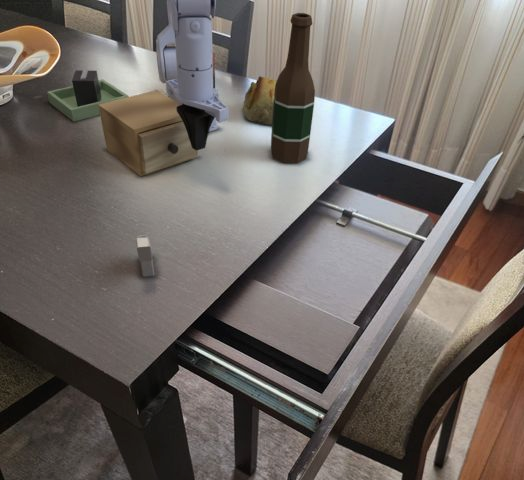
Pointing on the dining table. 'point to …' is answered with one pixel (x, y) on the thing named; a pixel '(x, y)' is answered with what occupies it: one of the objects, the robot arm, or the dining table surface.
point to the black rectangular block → (86, 87)
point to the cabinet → (135, 124)
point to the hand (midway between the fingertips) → (198, 147)
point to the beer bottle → (294, 97)
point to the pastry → (260, 101)
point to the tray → (68, 105)
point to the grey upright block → (145, 255)
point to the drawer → (165, 146)
